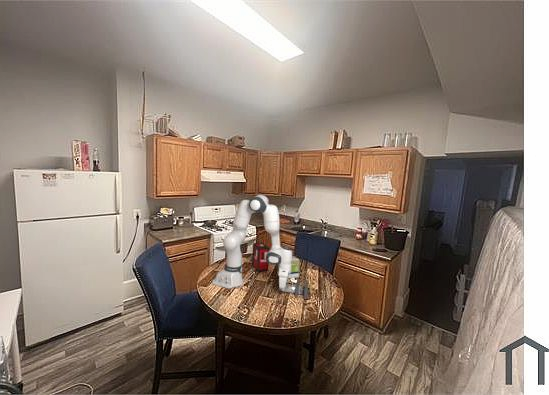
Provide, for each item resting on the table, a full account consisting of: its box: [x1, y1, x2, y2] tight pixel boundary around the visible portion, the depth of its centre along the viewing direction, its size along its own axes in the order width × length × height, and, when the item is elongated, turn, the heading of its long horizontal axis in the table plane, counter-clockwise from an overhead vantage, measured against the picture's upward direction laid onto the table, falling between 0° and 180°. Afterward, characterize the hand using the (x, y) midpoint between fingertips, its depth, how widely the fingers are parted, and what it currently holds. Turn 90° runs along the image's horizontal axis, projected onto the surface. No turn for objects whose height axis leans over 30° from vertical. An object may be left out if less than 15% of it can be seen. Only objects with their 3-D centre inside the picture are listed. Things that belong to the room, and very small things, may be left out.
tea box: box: [276, 255, 301, 279], centre depth 182 cm, size 15×10×15 cm
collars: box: [294, 279, 313, 299], centre depth 156 cm, size 11×10×9 cm
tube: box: [278, 283, 305, 296], centre depth 157 cm, size 18×5×5 cm, turn 79°
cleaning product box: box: [251, 241, 270, 273], centre depth 195 cm, size 16×9×20 cm, turn 25°
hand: (283, 288), depth 158 cm, fingers closed on tube, 5 cm apart
